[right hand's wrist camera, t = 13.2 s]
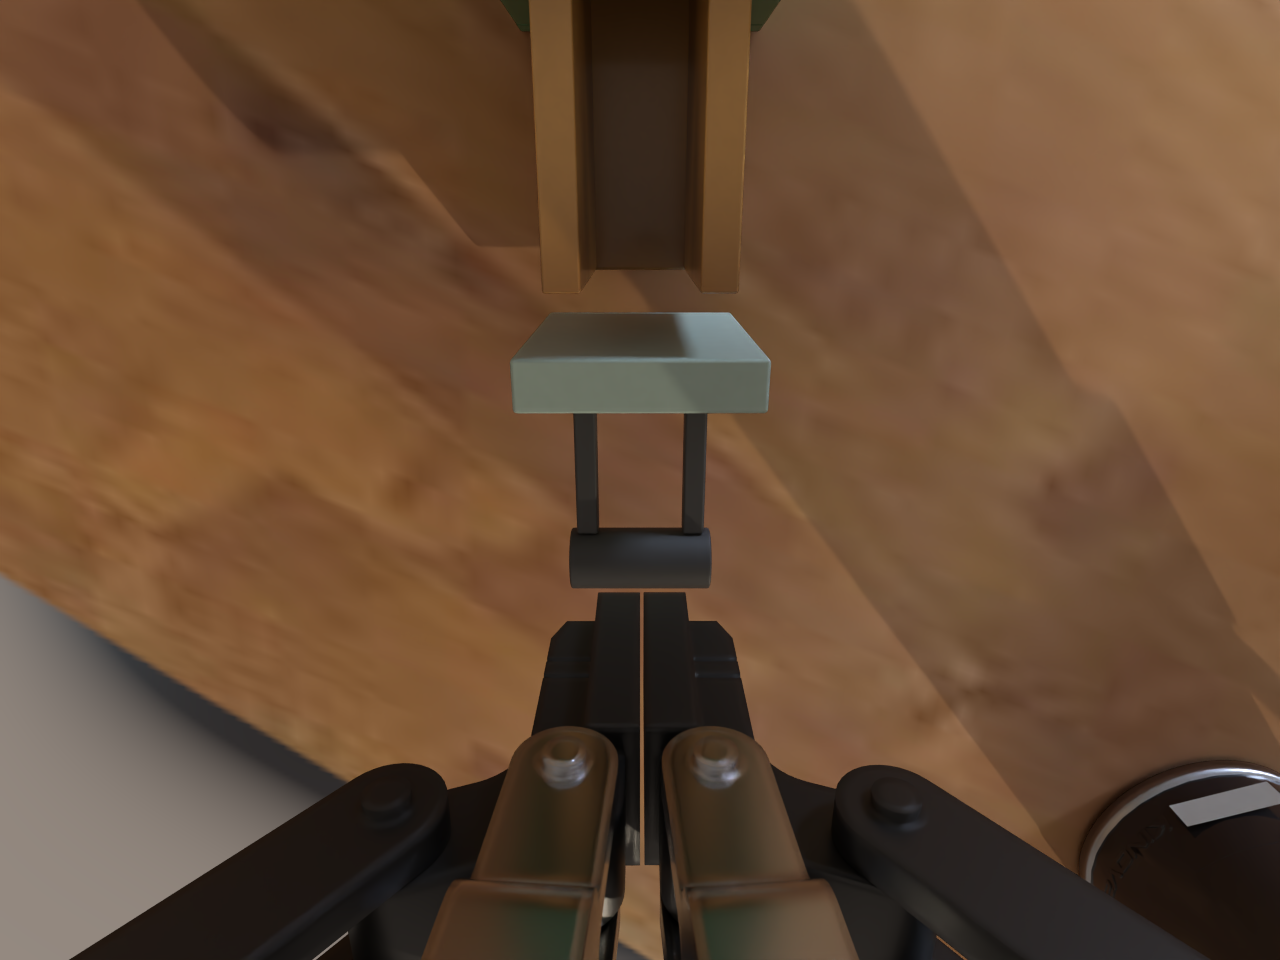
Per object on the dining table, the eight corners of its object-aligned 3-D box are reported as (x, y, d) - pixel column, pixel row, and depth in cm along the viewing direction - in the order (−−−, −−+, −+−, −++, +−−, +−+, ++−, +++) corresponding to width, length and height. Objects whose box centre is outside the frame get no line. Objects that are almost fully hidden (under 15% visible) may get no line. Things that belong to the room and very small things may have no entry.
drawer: (721, 534, 25) (753, 660, 18) (558, 534, 25) (527, 660, 18) (768, -571, 16) (867, -1174, 9) (511, -571, 16) (412, -1171, 9)
